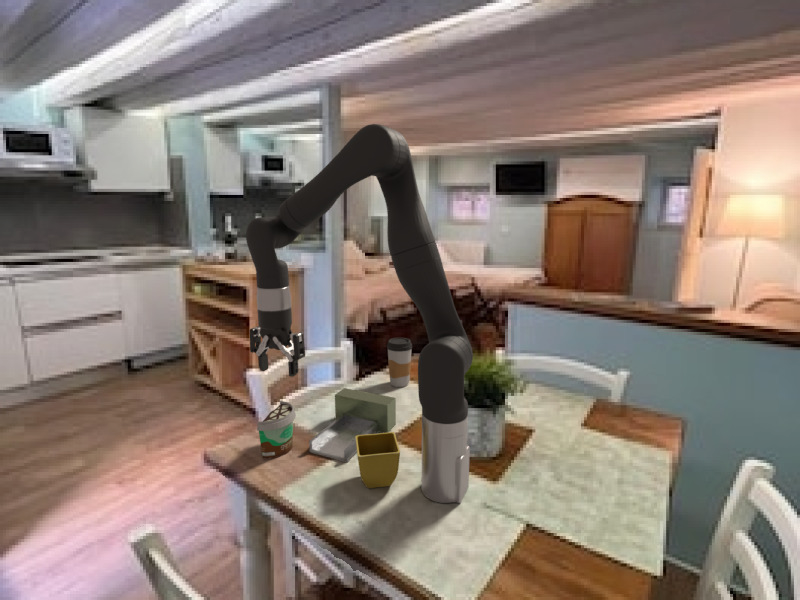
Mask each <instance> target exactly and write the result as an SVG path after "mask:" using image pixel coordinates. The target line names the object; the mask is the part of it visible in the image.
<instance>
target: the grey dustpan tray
mask: <svg viewBox="0 0 800 600" xmlns="http://www.w3.org/2000/svg"><path fill="white" fill-rule="evenodd" d="M396 399H397V398H396V397H394V396H388V395H383V394H377V393H372V392H367V391H366V392H365V391H362V390H357V389H351V388H346V387H345V388H342V389H341V390H339V391H338V392H337V393H335V394H334V409H335V410H334V411H335V412H334V413H335V419H334V420H333V422H331V423H330V424H328V425H327V426H326V427H325V428H323V429H322V430H320V432H318V434H316V435H315V436H313V437H312V438H311V439H310V440H308V443H309V453H311V454H314V455H319V456H322V457H325V458H326V457H327V458H329V457H330V459H333V458H334V460H338V461H341V462H345V463H348V462H349V461H351V459H353V458H354V457H355V456H356V454H357V447H356V439H355V436H358V435H367V434H376V433H377V434H379V432H380V433H383V432H384V433H388V432H392V430H393V429H394V428H395V427H394V426H395V425H396V426H397V424H396V423H397V414H396V413H397V412H396V411H397V407H396V406H397V405H396ZM393 427H394V428H393ZM392 428H393V429H392ZM391 429H392V430H391Z"/></svg>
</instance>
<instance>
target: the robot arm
mask: <svg viewBox="0 0 800 600" xmlns="http://www.w3.org/2000/svg"><path fill="white" fill-rule="evenodd" d="M371 176H372V177H375V178H376V179H377V182H378V183H379V187H380V190H381V193H382V195H383V198H384V201H385V205H386V212H387V213H386V214H387V229H386V230H387V232H386V233H387V236H386V237H387V246H388V251H389V255H390V258H391V261H392V263H393V268H394V270H395V273H396V276H397V279H398V281H399V283H400V284H401V286H402V288H403V289H404V291H405V292H406V294H407V295H408V297H409V298H410V299H411V301H412V302H413V303H414V305H415V306H416V308H417V310H418V311H419V314H420V315H421V319H422V320H423V324H424V327H425V329H426V333H427V334H426V335H427V338H428V339H427V340H428V343H427V344H426V345H425V346H424V347H423V348H422V350H421V351H420V353H419V356H418V361H417V386H418V389H417V390H418V400H419V404H420V406H421V481H420V482H421V492H422V494H423V495H424V496H425V497H426V498H427V499H429V500H431V501H432V502H436V503H441V504H450V503H451V504H452V503H458V504H461V503H462V500H463V499H464V498H465V494H466V493H467V490H468V489H469V486H470V485H469V483H470V482H469V481H470V480H469V479H470V456H471V455H470V453H471V452H470V451H471V450H470V449H471V447H470V445H468V422H469V419H468V417H469V404H468V403H469V402H468V400H467V399H466V398H465V374H467V372H468V371H469V369H470V368H471V366H472V364H473V357H474V355H473V354H474V353H473V348H472V345H471V342H470V340H469V338H468V335H467V333H466V331H465V328H464V326H463V323H462V321H461V319H460V317H459V315H458V312H457V310H456V307H455V304H454V301H453V300H454V299H453V297H452V293H451V289H450V286H449V282H448V278H447V276H446V273H445V268H444V265H443V261H442V257H441V255H440V251H439V249H438V245H437V242H436V239H435V236H434V233H433V231H432V228H431V225H430V221H429V219H428V214H427V211H426V210H425V207H424V204H423V200H422V197H421V195H420V192H419V189H418V182H417V180H416V179H417V178H416V174H415V169H414V163H413V157H412V155H411V150H410V147H409V144H408V142H407V140H406V138H405V137H404V136H403V134H401V132H399V131H398V130H396V129H394V128H392V127H391V128H390V127H389V126H386V125H382V124H377V123H372V124H371V123H370V124H368V125H365V126H363V127H361V129H359V130H358V131H357V132H356V133H355V134H354V135H353V136H352V137H351V138H350V139H349V141H348V142H347V143H346V144H345V145H344V146H343V148H341V150H340V151H338V153H337V154H336V155H335V156H334V157H333V158H332V159H331V160H330V161H329V162H328V164H326V166H325V167H324V168H322V169H321V171H319V172H318V174H316V175H315V176H314V177H313V178H312V179H310V180H309V181H308V182H307V183H306V184H305V185H303V186H302V187H301V188H300V189H298V190H296V192H294V193H293V194H291V195H290V196H289V197H287V198H286V199H285V200H284V201H283V202H281V204H280V205H279V208H278V214H277V215H275V216H269V217H268V216H266V217H265V216H264V217H263V216H262V217H256V218H253V219H252V220H251V221H250V222H249V223H248V224H247V227H246V231H245V240H246V244H247V248H248V251H249V255H250V257H251V260H252V263H253V265H254V267H255V276H256V306H257V307H256V309H257V322H258V325H257V326H255V327H252V328H250V329H249V352H250V353H251V354H252V353H254V354H255V355H256V356H257V360H258V362H257V363H258V364H257V365H258V368H259V370H260V372H266V371H267V370H268V369H269V355H268V354H267V353H268V351H269V350H274V349H275V350H276V351H280V353H282V354H283V355H285V357H286V359H287V360H288V363H287V365H288V377H291V378H293V377H295V376H297V374H298V373H299V360H301V359H304V358H306V349H305V348H306V347H305V346H306V345H305V338H304V332H302V331H299V332H297V333H296V332H293V331H292V329H291V327H292V325H293V313H292V310H293V309H292V295H291V290H290V279H289V266H288V263H287V262H286V261H284V260H282V259H279V258H278V257H277V253H276V249H277V250H278V249H282V248H285V247H287V246H288V245H290V244H292V243H293V242H294V241H295V240H296V239H297V238H298V237H299V235H301V233H302V232H303V231H304V230H305V229H306V228H308V227H309V226H311V225H312V224H313V223H315V222H317V220H319V219H320V218H321V217H323V216H324V215H326V213H328V211H330V210H331V208H332V207H333V206H334V204H335V203H336V202H337V201H338V199H339V198H340V197H341V195H343V194H344V192H346V191H347V190H348V189H349V188H351V187H352V186H354V185H356V184H357V183H359V182H361V181H363V180H366V179H367V178H369V177H371Z"/></svg>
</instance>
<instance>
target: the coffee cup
mask: <svg viewBox="0 0 800 600" xmlns="http://www.w3.org/2000/svg"><path fill="white" fill-rule="evenodd" d="M386 348H387V357H388V361H387V364H388V371H389V373H388V374H389V383H390V384H391V386H393V387H395V388H405V387H407V386H408V385H409V384H410V378H411V377H410V375H411V367H412V365H411V364H412V349H413V343H412V342H411V339H410V338H406V337H393V338H390V339H389V340H388V341H387V345H386Z"/></svg>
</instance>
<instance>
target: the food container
mask: <svg viewBox="0 0 800 600" xmlns="http://www.w3.org/2000/svg"><path fill="white" fill-rule="evenodd" d="M296 418H297V417H296V411H295V407H293V405H292V404H291V403H290V402H288V401H285V400H279V405H278V406H277V407H276V408H275V409H274V410H272V411H270V412H269V413H268V415H266V417H265V418H264V419H263V420H261V421H259V420H258V421H257V424H256V431H257V432H258V435H259V441H260V449H261V456H262V459H263V460H264V459H275V458H279V457H283V456H285V455H287V454H288V453H289V452H291V450H292V449H293V444H294V443H293V442H294V441H293V439H294V437H293V435H294V421H295V419H296Z"/></svg>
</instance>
